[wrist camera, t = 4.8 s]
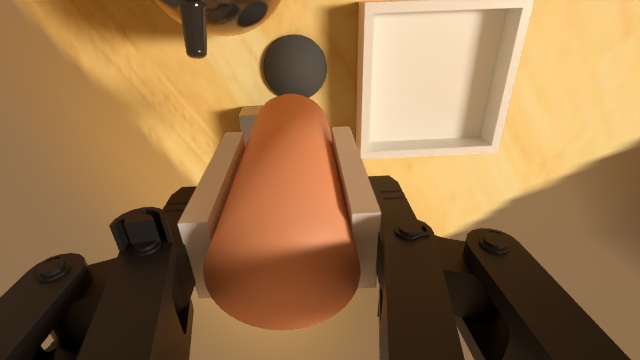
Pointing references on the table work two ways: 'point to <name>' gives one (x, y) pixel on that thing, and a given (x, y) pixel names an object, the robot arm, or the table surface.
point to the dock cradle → (436, 75)
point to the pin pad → (295, 66)
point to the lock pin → (284, 225)
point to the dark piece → (215, 19)
